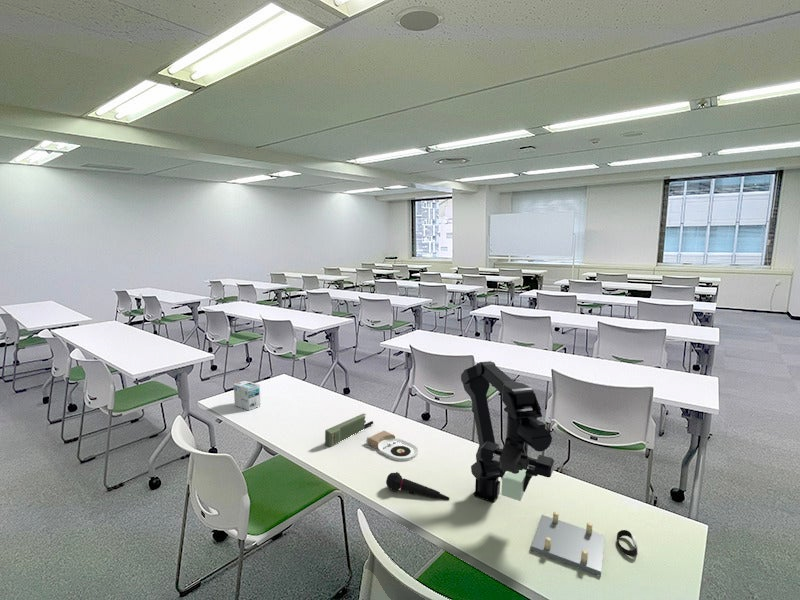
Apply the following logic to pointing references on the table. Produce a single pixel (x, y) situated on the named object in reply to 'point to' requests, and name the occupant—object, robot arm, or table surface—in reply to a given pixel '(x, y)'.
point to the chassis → (569, 543)
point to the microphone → (411, 486)
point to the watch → (627, 533)
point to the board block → (513, 484)
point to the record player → (391, 446)
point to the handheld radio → (345, 430)
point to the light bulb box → (247, 395)
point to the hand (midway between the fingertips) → (514, 487)
